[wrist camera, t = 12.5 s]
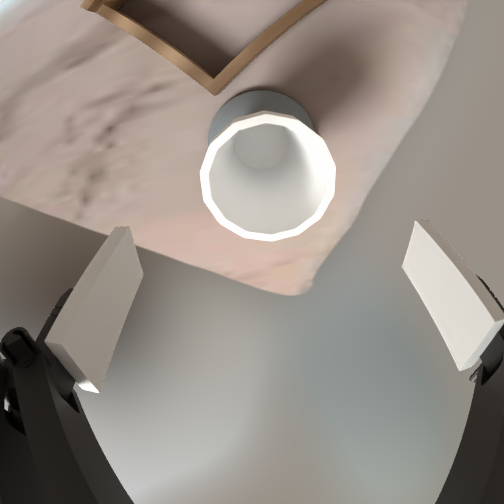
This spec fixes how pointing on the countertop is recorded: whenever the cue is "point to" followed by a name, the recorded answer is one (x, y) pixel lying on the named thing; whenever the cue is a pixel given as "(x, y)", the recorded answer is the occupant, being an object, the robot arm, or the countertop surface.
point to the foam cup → (267, 176)
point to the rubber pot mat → (256, 109)
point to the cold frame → (108, 4)
